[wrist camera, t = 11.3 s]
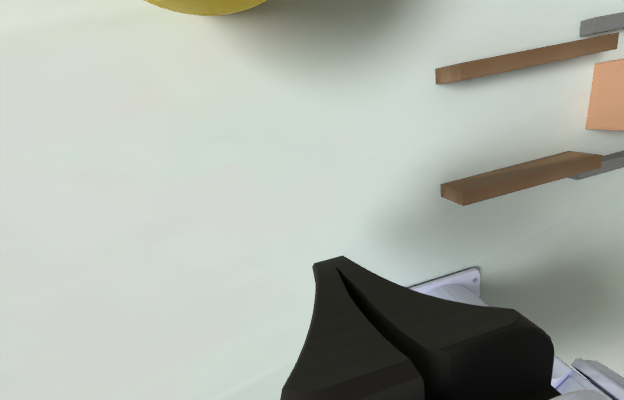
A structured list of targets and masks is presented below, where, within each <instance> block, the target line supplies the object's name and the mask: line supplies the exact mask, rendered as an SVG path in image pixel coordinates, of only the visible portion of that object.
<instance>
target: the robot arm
mask: <svg viewBox="0 0 624 400" xmlns="http://www.w3.org/2000/svg"><path fill="white" fill-rule="evenodd" d="M312 267H313V272H314V277H315V282H316V294H315V303H314V310H313V315H312V320H311V324H310V328H309V331H308V334H307V338H306V340H305V343H304V346H303V348H302V351H301V353H300V355H299V358H298V360H297V362H296V364H295V367H294V369H293V370H292V372H291V374H290V376H289V378H288V379H287V381H286V383H285V385H284V387H283V388H282V393H281V399H280V400H624V378H623V377H622V376H620V375H619V374H617V373H616V372H614V371H613V370H611V369H609V368H608V367H606V366H605V365H603V364H601V363H599V362H597V361H592V360H585V361H584V360H582V359H580V358H577V359H575V361H574V362H573V363H572V366H573V367H574V368H575V369H576V370H577V371H579V372H580V373H581V374H582V375H583V376H584V377H586V378H587V379H588V380H589V381H590V382H591V383H590V382H589V381H588V380H587V379H585V378H584V377H583V376H581V375H580V374H578V373H577V372H576V371H574V370H573V369H572V368H571V367H569V366H568V365H567V364H566V363H564V362H563V361H562V360H561V359H559V358H558V357H557V356H555V355H554V346H553V343H552V341H551V338H550V337H549V336H548V335H547V334H546V333H545V332H544V331H543V330H542V329H541V328H539V327H538V326H536V325H535V324H534V323H532V322H531V321H530V320H528V319H527V318H525V317H524V316H523V315H521V314H520V313H519V312H517V311H516V310H514V309H507V308H497V307H490V306H488V305H487V304H486V303H485V302H483V301H482V300H481V299H480V272H479V270H477V269H476V268H472V269H469V270H465V271H462V272H459V273H456V274H453V275H449V276H446V277H443V278H440V279H437V280H434V281H430V282H427V283H424V284H421V285H418V286H414V287H411V288H406V287H403V286H400V285H398V284H395V283H393V282H391V281H389V280H387V279H384V278H382V277H380V276H378V275H376V274H374V273H372V272H370V271H369V270H367V269H365V268H363V267H361V266H360V265H358V264H356V263H355V262H353V261H351V260H350V259H348V258H346V257H344V256H340V257H336V258H332V259H329V260H325V261H321V262H318V263H314V265H313V266H312Z"/></svg>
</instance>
